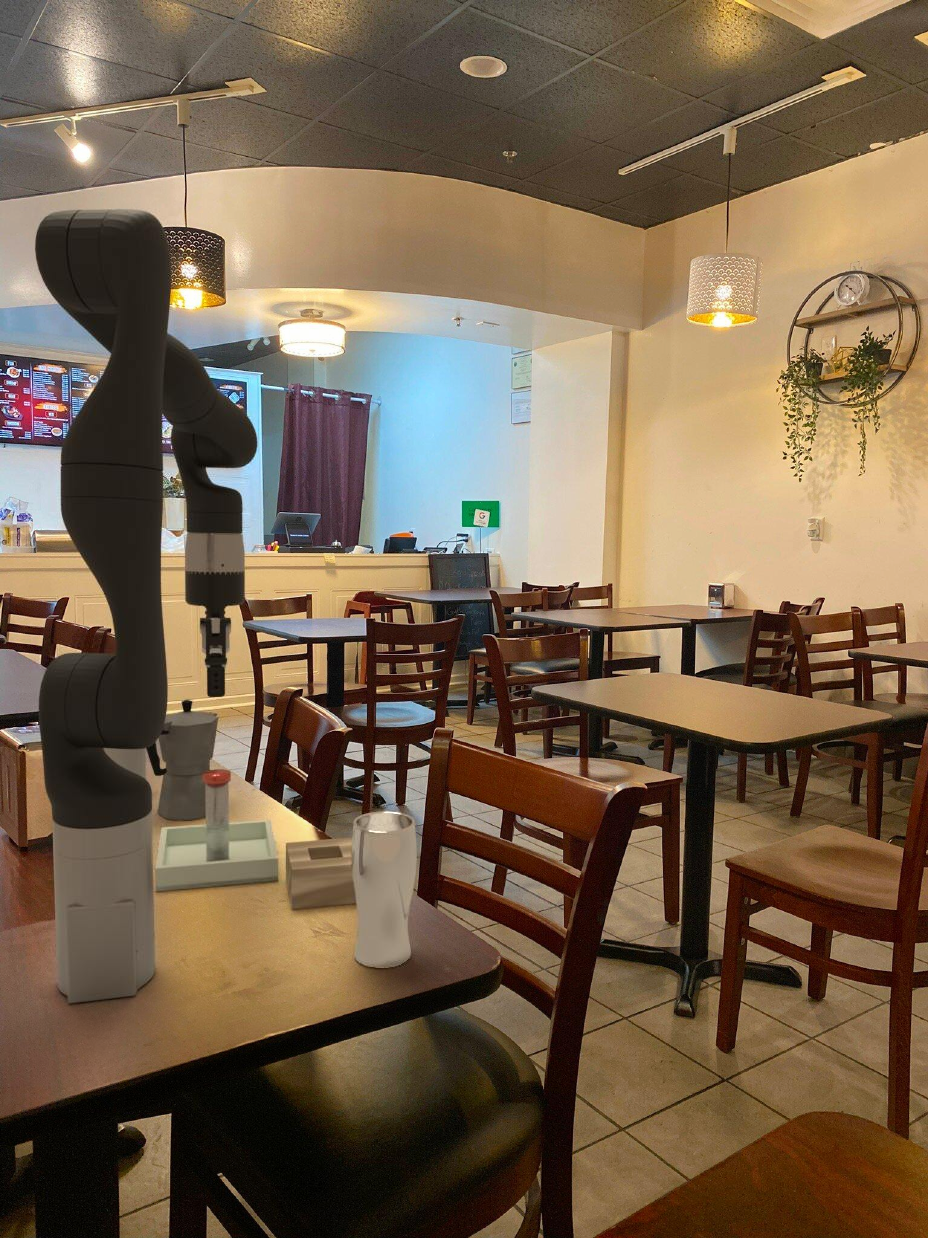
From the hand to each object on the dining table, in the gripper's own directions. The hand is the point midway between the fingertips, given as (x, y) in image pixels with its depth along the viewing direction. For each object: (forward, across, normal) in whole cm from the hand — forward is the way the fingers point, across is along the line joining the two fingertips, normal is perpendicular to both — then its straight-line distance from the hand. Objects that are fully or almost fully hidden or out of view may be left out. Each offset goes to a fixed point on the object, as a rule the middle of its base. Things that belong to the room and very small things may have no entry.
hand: (215, 690), depth 117 cm
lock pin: (+23, 0, 0) cm, 23 cm away
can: (+24, +33, +15) cm, 43 cm away
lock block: (+24, -12, -13) cm, 30 cm away
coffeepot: (+24, +22, +5) cm, 33 cm away
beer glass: (+24, -30, -17) cm, 42 cm away
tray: (+24, 0, 0) cm, 24 cm away
